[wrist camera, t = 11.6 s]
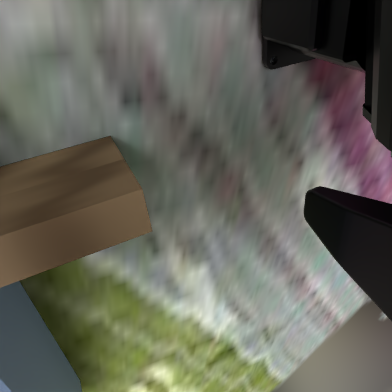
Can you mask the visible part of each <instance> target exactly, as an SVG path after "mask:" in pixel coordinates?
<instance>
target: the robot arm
mask: <svg viewBox="0 0 392 392" xmlns="http://www.w3.org/2000/svg"><path fill="white" fill-rule="evenodd" d="M262 36H263V64H264V66H265V67H267V68H269V69H276V68H280V67H284V66H288V65H292V64H296V63H299V62H303V61H307V60H311V59H315V58H317V59H321V60H324V61H327V62H331V63H334V64H337V65H341V66H344V67H348V68H351V69H354V70H358V71H361V72H364V73H365V103H364V104H363V116H364V117H365V118H366V119H367V120H368V121H369V122H370V123H371V127H372V130H373V132H374V135H375V137H376V139H377V140H378V141H379V142H381V143H382V144H383V145H384V146H385V147H386V148H387V149H388V150H390V151H391V157H392V0H262ZM272 57H274V59H273V62H272V63H270V60H271V58H272ZM304 217H305V220H306V221H307V223H308V224H309V225H310V227H311V228H312V229H313V231H314V232H315V233H316V235H317V236H318V237H319V239H320V240H321V241H322V243H323V244H324V245H325V247H326V248H327V249H328V251H329V252H330V253H331V255H332V256H333V257H334V259H335V260H336V261H337V262H338V263H339V264H340V266H341V267H342V268H343V269H344V270H345V271H346V272H347V273H348V274H349V275H350V277H351V278H352V279H353V280H354V281H355V282H356V283H357V284H358V285H359V286H360V287H361V289H362V290H363V291H364V292H365V293H366V294H367V295H368V296H369V297H370V298H371V299H372V300H373V302H374V303H375V304H376V305H377V306H378V307H379V308H380V309H381V310H382V311H383V312H384V313H385V315H386V316H387V317H388V318H389V319H390V320H391V321H392V204H390V203H386V202H382V201H378V200H374V199H370V198H366V197H362V196H358V195H354V194H350V193H346V192H342V191H338V190H334V189H330V188H326V187H321V186H319V187H316V188H313V189H311V190H308V191H307V193H306V195H305V205H304Z"/></svg>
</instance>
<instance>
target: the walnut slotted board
mask: <svg viewBox="0 0 392 392" xmlns="http://www.w3.org/2000/svg"><path fill="white" fill-rule="evenodd" d="M149 232H152V228H151V223H150V219H149V215H148V211H147V207H146V202H145V198H144V194H143V190H142V188H141V186H140V184H139V183H138V181H137V179H136V178H135V176H134V174H133V173H132V171H131V169H130V168H129V166H128V164H127V163H126V161H125V160H124V158H123V156H122V155H121V153H120V151H119V150H118V148H117V146H116V145H115V143H114V141H113V140H112V138H111V136H108V137H105V138H101V139H98V140H94V141H90V142H87V143H83V144H80V145H76V146H73V147H69V148H65V149H62V150H58V151H55V152H51V153H48V154H44V155H40V156H37V157H33V158H30V159H26V160H23V161H19V162H15V163H12V164H8V165H5V166H1V167H0V288H1V287H4V286H6V285H9V284H12V283H15V282H17V281H20V280H23V279H25V278H28V277H31V276H33V275H36V274H39V273H41V272H44V271H47V270H49V269H52V268H55V267H58V266H60V265H63V264H66V263H68V262H71V261H74V260H76V259H79V258H82V257H84V256H87V255H90V254H93V253H95V252H98V251H101V250H103V249H106V248H109V247H111V246H114V245H117V244H119V243H122V242H125V241H128V240H130V239H133V238H136V237H138V236H141V235H144V234H146V233H149Z"/></svg>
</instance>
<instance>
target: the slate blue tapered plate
mask: <svg viewBox="0 0 392 392" xmlns="http://www.w3.org/2000/svg"><path fill="white" fill-rule="evenodd" d="M0 392H82V388H81V383H80V380H79V378H78V376H77V375H76V373H75V371H74V370H73V368H72V367H71V365H70V363H69V362H68V360H67V358H66V357H65V355H64V354H63V352H62V350H61V349H60V347H59V345H58V344H57V342H56V340H55V339H54V337H53V336H52V334H51V332H50V331H49V329H48V327H47V326H46V324H45V322H44V321H43V319H42V318H41V316H40V314H39V313H38V311H37V309H36V308H35V306H34V304H33V303H32V301H31V300H30V298H29V296H28V295H27V293H26V291H25V290H24V288H23V286H22V285H21V283H20V282H19V281H17V282H15V283H12V284H9V285H6V286H4V287H1V288H0Z"/></svg>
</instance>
